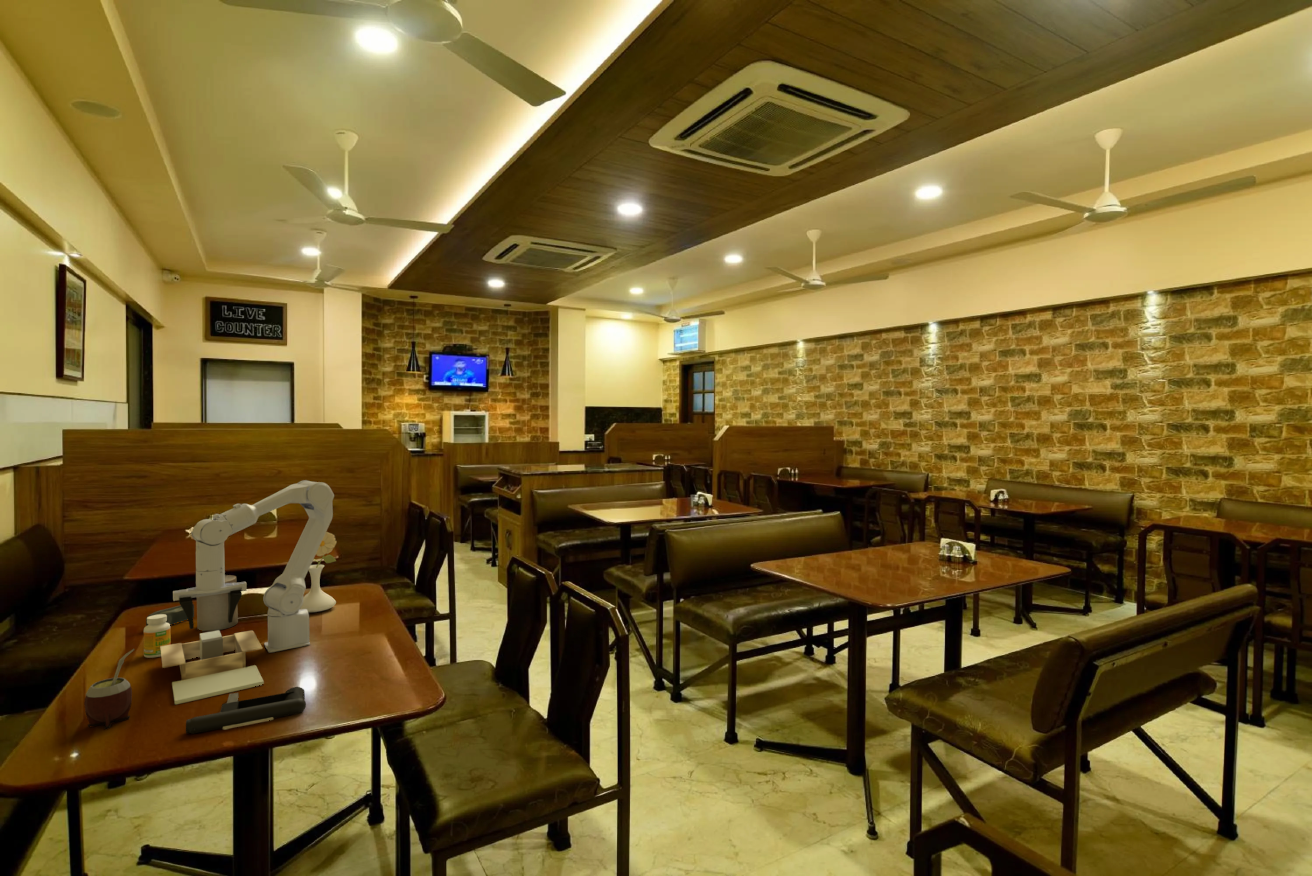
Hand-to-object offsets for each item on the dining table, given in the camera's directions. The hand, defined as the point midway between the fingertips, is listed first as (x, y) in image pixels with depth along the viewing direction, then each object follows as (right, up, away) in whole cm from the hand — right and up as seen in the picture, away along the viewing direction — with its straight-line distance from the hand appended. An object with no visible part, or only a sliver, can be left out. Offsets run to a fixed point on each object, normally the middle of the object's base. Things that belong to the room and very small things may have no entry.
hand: (211, 624), depth 154 cm
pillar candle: (-19, -9, +29) cm, 36 cm away
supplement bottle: (-19, -10, +7) cm, 22 cm away
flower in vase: (+2, -9, +45) cm, 46 cm away
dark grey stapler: (-33, -9, +30) cm, 45 cm away
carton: (0, -10, +1) cm, 10 cm away
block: (0, -10, +1) cm, 10 cm away
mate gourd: (+1, -11, -29) cm, 31 cm away
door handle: (+25, -12, -23) cm, 36 cm away
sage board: (+10, -10, -11) cm, 18 cm away
